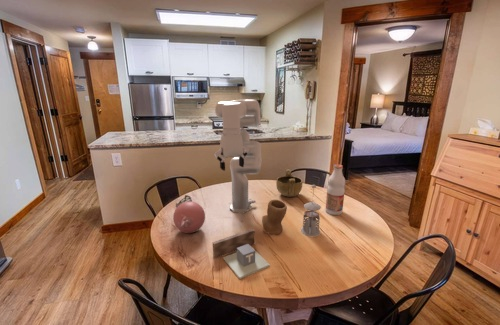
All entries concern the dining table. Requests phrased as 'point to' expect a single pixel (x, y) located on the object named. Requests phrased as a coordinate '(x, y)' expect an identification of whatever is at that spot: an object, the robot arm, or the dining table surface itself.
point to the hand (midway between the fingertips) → (232, 168)
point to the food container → (184, 200)
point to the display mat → (246, 270)
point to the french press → (311, 219)
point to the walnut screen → (233, 243)
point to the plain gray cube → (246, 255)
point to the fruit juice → (335, 191)
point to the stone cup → (274, 217)
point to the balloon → (189, 217)
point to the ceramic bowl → (289, 185)
